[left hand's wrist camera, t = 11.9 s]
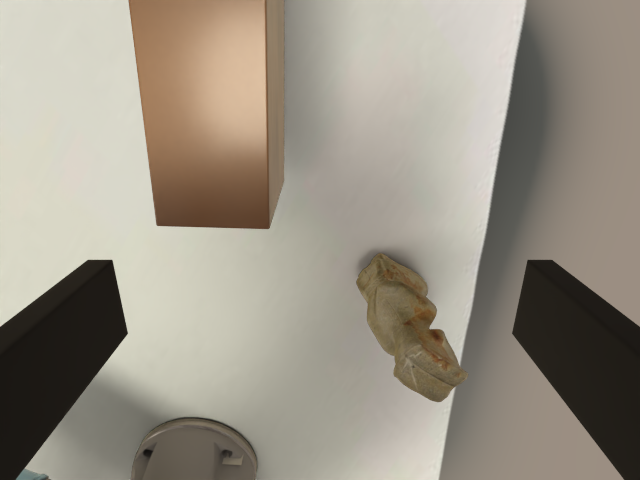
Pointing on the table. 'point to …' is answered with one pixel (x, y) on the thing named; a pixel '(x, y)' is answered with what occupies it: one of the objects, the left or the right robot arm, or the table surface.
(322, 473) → the table surface
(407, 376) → the sculpture
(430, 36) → the table surface
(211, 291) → the table surface
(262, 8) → the bar
